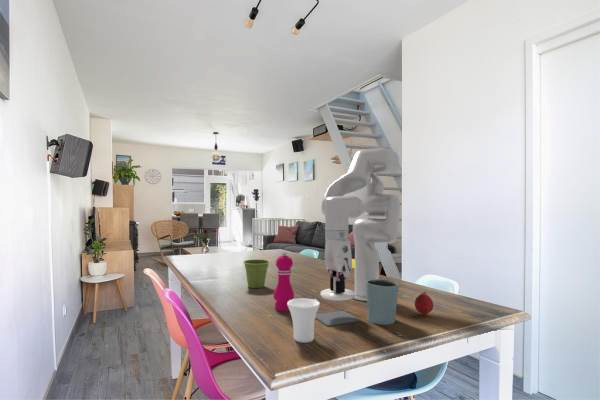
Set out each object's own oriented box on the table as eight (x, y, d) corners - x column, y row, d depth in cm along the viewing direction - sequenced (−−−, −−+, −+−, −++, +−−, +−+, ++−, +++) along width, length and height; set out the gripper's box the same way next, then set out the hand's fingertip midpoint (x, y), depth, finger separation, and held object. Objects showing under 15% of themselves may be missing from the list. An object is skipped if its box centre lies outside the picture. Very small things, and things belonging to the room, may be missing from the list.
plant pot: (239, 289, 143) (239, 263, 143) (247, 283, 155) (248, 258, 155) (265, 290, 141) (266, 264, 141) (272, 284, 153) (272, 259, 153)
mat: (342, 311, 113) (342, 310, 113) (360, 321, 104) (360, 319, 104) (311, 316, 108) (311, 314, 108) (327, 326, 99) (327, 324, 99)
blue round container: (363, 314, 111) (363, 278, 111) (393, 315, 110) (394, 279, 111) (368, 325, 101) (369, 285, 101) (402, 326, 100) (402, 286, 101)
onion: (424, 319, 107) (424, 294, 107) (410, 314, 112) (411, 290, 112) (437, 316, 109) (437, 292, 110) (423, 311, 114) (423, 288, 115)
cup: (327, 340, 89) (327, 302, 89) (298, 348, 83) (299, 308, 84) (307, 329, 96) (307, 295, 96) (280, 336, 91) (280, 300, 91)
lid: (342, 288, 115) (342, 271, 115) (361, 297, 105) (361, 278, 105) (314, 293, 110) (314, 275, 110) (331, 302, 100) (331, 283, 100)
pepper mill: (291, 311, 112) (292, 253, 113) (270, 310, 114) (271, 252, 114) (295, 305, 120) (296, 250, 120) (276, 304, 121) (277, 249, 121)
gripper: (361, 237, 101) (361, 296, 102) (333, 231, 116) (334, 284, 116) (340, 238, 98) (341, 300, 99) (314, 233, 113) (315, 286, 113)
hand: (337, 291), depth 107 cm, fingers closed on lid, 2 cm apart
